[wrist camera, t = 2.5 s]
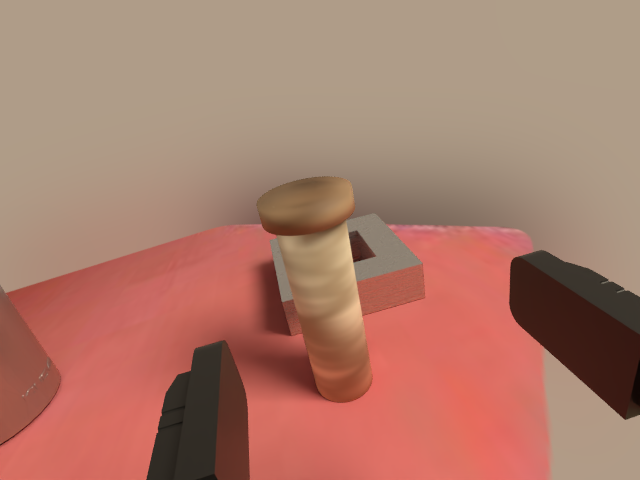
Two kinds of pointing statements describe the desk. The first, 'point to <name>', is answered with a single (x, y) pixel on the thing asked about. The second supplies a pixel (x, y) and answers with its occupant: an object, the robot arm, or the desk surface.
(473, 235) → the desk surface
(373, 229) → the socket block
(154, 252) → the desk surface
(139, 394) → the desk surface
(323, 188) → the wooden pin
